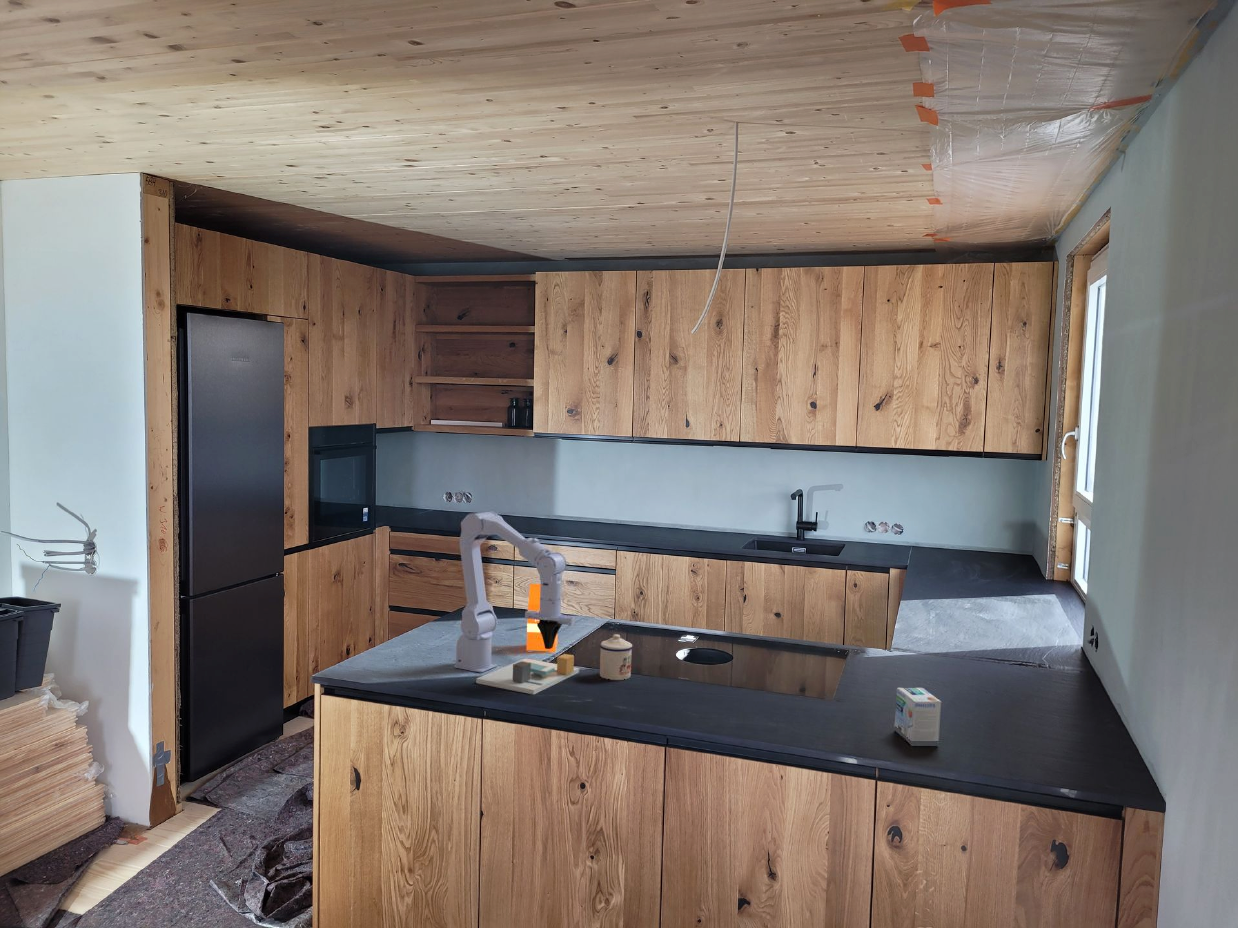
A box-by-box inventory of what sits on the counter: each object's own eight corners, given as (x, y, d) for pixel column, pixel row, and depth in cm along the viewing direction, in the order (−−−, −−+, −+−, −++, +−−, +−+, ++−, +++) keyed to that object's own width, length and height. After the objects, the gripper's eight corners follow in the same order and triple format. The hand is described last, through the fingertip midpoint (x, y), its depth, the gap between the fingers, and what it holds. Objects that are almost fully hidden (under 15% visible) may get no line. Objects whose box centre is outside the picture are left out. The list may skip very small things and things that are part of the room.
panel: (476, 682, 245) (476, 675, 245) (524, 662, 266) (525, 655, 266) (533, 694, 237) (533, 686, 237) (578, 672, 258) (579, 664, 258)
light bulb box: (893, 730, 220) (895, 686, 219) (920, 731, 220) (923, 686, 220) (911, 747, 209) (913, 700, 208) (939, 747, 210) (942, 701, 209)
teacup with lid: (624, 682, 250) (626, 640, 250) (593, 677, 254) (595, 636, 253) (639, 671, 261) (641, 631, 261) (609, 667, 265) (611, 627, 264)
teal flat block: (520, 669, 250) (521, 665, 250) (529, 665, 254) (529, 661, 253) (545, 675, 246) (546, 671, 246) (554, 671, 250) (554, 667, 250)
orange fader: (556, 672, 252) (557, 656, 252) (564, 669, 256) (564, 653, 256) (566, 674, 251) (566, 658, 251) (573, 671, 255) (574, 655, 254)
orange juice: (555, 652, 279) (557, 587, 277) (526, 651, 279) (528, 586, 277) (557, 645, 286) (559, 582, 285) (529, 644, 286) (531, 581, 285)
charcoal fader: (512, 680, 243) (513, 664, 243) (520, 677, 247) (521, 661, 247) (522, 682, 242) (522, 666, 242) (530, 678, 246) (530, 662, 245)
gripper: (519, 597, 247) (518, 647, 248) (566, 604, 240) (564, 655, 241) (533, 593, 253) (532, 641, 254) (579, 599, 247) (577, 649, 247)
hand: (548, 648), depth 248 cm, fingers closed
